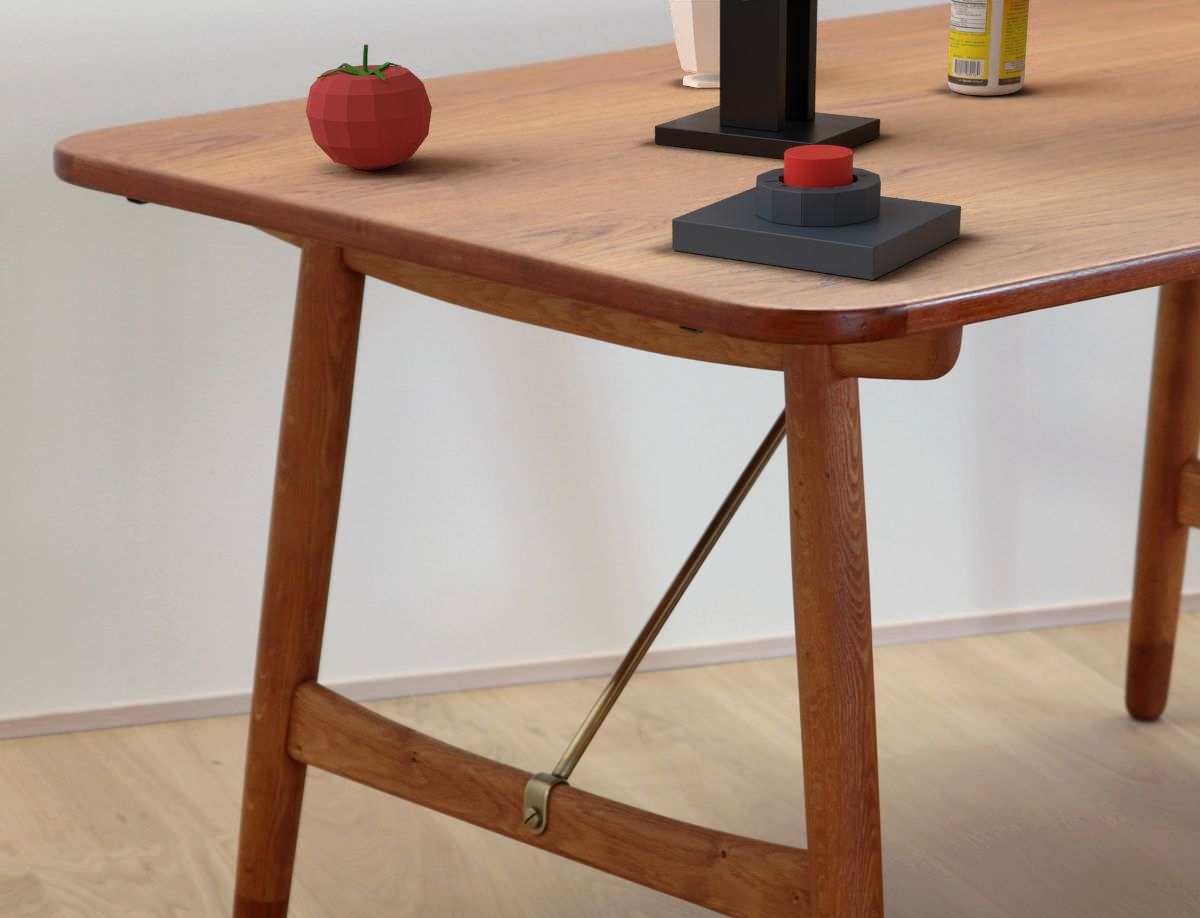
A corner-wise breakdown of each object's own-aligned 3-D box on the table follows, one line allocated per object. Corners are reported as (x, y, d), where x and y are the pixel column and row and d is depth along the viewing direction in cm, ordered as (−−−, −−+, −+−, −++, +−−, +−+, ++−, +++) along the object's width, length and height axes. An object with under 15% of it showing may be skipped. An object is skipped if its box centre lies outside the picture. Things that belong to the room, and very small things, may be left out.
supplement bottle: (1019, 83, 144) (1029, -61, 140) (1027, 97, 139) (1037, -52, 135) (943, 83, 145) (951, -60, 140) (949, 97, 140) (956, -51, 135)
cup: (648, 87, 146) (647, -23, 143) (704, 66, 154) (704, -39, 151) (733, 93, 143) (733, -20, 140) (785, 71, 151) (787, -36, 148)
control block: (960, 237, 103) (963, 171, 102) (873, 280, 96) (875, 211, 95) (767, 211, 110) (767, 149, 108) (671, 250, 102) (671, 184, 101)
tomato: (332, 186, 118) (321, 58, 115) (294, 163, 125) (283, 41, 122) (453, 171, 121) (446, 46, 118) (410, 149, 128) (402, 30, 125)
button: (864, 182, 102) (865, 148, 101) (831, 195, 99) (832, 161, 99) (804, 174, 104) (805, 142, 103) (771, 188, 101) (771, 154, 101)
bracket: (880, 136, 128) (886, -50, 123) (813, 162, 121) (817, -34, 116) (725, 120, 134) (726, -58, 129) (654, 144, 128) (652, -43, 123)
